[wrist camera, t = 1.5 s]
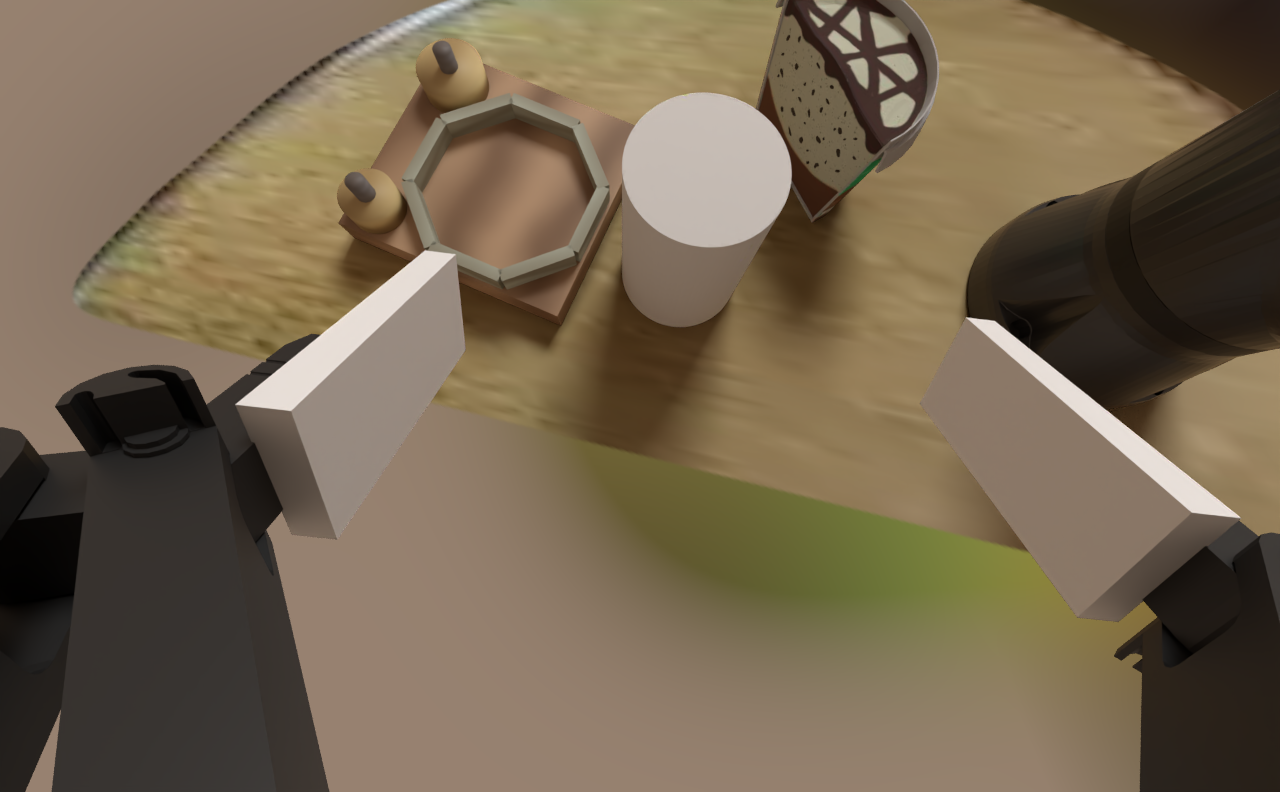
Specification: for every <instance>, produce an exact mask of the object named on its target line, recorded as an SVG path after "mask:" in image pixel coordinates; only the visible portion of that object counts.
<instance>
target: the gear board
mask: <svg viewBox="0 0 1280 792" xmlns="http://www.w3.org/2000/svg"><path fill="white" fill-rule="evenodd" d="M416 73H417V77H418V79H419V81H420V83H421V84H420V86H419V87H418V89H417V91H416V92H415V94H414V96H413V97H412V99H411V101H410V103H409V104H408V106H407V108H406V109H405V111H404V113H403V114H402V116H401V118H400V119H399V121H398V123H397V125H396V126H395V128H394V130H393V131H392V133H391V135H390V136H389V138H388V140H387V141H386V143H385V145H384V147H383V148H382V150H381V152H380V153H379V155H378V157H377V158H376V160H375V162H374V164H373V165H372V167H371V168H365V169H360V170H357V171H354V172H351V173H349V174H348V175H347V176H346V177H345V178H344V180H343V181H342V182H341V184H340V186H339V188H338V192H337V200H338V204H339V206H340V208H341V209H342V211H343V212H344V214H343V216H342V218H341V219H340V221H339V224H340V225H341V226H342V227H343V228H344V229H345V230H347V231H348V232H349V233H350V234H351V235H352V236H353V237H354V238H356V239H359V240H361V241H363V242H366V243H368V244H371V245H373V246H375V247H378V248H380V249H382V250H385V251H387V252H389V253H392V254H394V255H396V256H399V257H401V258H403V259H406V260H408V261H410V262H412V261H413V260H414V259H415V258H416V257H418V256H419V255H420V254H421V253H423V252H424V251H434V252H442V253H450V254H456V260H457V270H458V280H459V282H460V283H462V284H464V285H467V286H469V287H471V288H474V289H476V290H478V291H481V292H483V293H486V294H488V295H490V296H493V297H495V298H497V299H500V300H502V301H504V302H507V303H509V304H511V305H514V306H516V307H518V308H521V309H523V310H525V311H528V312H530V313H532V314H535V315H537V316H539V317H542V318H544V319H547V320H549V321H551V322H554V323H556V324H558V325H562V323H563V321H564V319H565V316H566V314H567V312H568V310H569V308H570V306H571V304H572V302H573V300H574V298H575V296H576V294H577V291H578V289H579V287H580V285H581V283H582V281H583V279H584V277H585V275H586V273H587V271H588V268H589V266H590V264H591V262H592V260H593V258H594V256H595V254H596V252H597V250H598V248H599V245H600V243H601V241H602V239H603V237H604V235H605V233H606V231H607V229H608V227H609V225H610V223H611V220H612V218H613V216H614V214H615V212H616V210H617V208H618V206H619V204H620V202H621V200H622V158H623V152H624V148H625V145H626V142H627V139H628V137H629V135H630V133H631V131H632V130H633V128H634V127H635V125H632V124H630V123H627V122H625V121H622V120H620V119H618V118H615V117H613V116H610V115H608V114H605V113H603V112H600V111H598V110H596V109H593V108H591V107H588V106H586V105H583V104H581V103H578V102H576V101H573V100H571V99H569V98H566V97H564V96H561V95H559V94H556V93H554V92H551V91H549V90H547V89H544V88H542V87H539V86H537V85H534V84H532V83H529V82H527V81H525V80H522V79H520V78H517V77H515V76H512V75H510V74H507V73H505V72H502V71H500V70H498V69H495V68H493V67H490V66H488V65H485V64H483V63H482V60H481V57H480V55H479V53H478V52H477V50H476V49H475V48H474V47H473V46H472V45H470V44H469V43H467V42H465V41H462V40H459V39H453V38H447V39H441V40H438V41H435V42H433V43H431V44H429V45H428V46H427V47H425V48H424V49H423V51H422V52H421V53H420V55H419V57H418V59H417V62H416Z"/></svg>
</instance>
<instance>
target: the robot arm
mask: <svg viewBox="0 0 1280 792" xmlns="http://www.w3.org/2000/svg"><path fill="white" fill-rule="evenodd" d="M968 306H969V313H970V318H967V317H966V318H965V320H964V322H963V324H962V326H961V328H960V329H959V331H958V333H957V335H956V337H955V339H954V341H953V342H952V344H951V346H950V348H949V350H948V352H947V354H946V356H945V357H944V359H943V361H942V363H941V365H940V367H939V369H938V370H937V372H936V374H935V376H934V378H933V380H932V382H931V383H930V385H929V387H928V389H927V391H926V393H925V395H924V397H923V398H922V400H921V402H920V405H921V406H922V407H923V409H924V410H925V411H926V413H927V414H928V415H929V417H930V418H931V420H932V421H933V422H934V424H935V425H936V426H937V428H938V429H939V430H940V432H941V433H942V435H943V436H944V437H945V439H946V440H947V441H948V443H949V444H950V445H951V447H952V448H953V449H954V451H955V452H956V454H957V455H958V456H959V458H960V459H961V460H962V462H963V463H964V464H965V466H966V467H967V468H968V470H969V471H970V473H971V474H972V475H973V477H974V478H975V479H976V481H977V482H978V483H979V485H980V486H981V487H982V489H983V490H984V492H985V493H986V494H987V496H988V497H989V498H990V500H991V501H992V502H993V504H994V505H995V506H996V508H997V509H998V511H999V512H1000V513H1001V515H1002V516H1003V517H1004V519H1005V520H1006V521H1007V523H1008V524H1009V525H1010V527H1011V528H1012V530H1013V531H1014V532H1015V534H1016V535H1017V536H1018V538H1019V539H1020V540H1021V542H1022V543H1023V544H1024V546H1025V547H1026V549H1027V550H1028V551H1029V553H1030V554H1031V555H1032V557H1033V558H1034V559H1035V561H1036V562H1037V563H1038V565H1039V566H1040V567H1041V569H1042V570H1043V572H1044V573H1045V574H1046V576H1047V577H1048V578H1049V580H1050V581H1051V582H1052V584H1053V585H1054V587H1055V588H1056V589H1057V591H1058V592H1059V593H1060V595H1061V596H1062V597H1063V599H1064V600H1065V601H1066V603H1067V604H1068V606H1069V607H1070V608H1071V610H1072V611H1073V612H1074V614H1075V615H1076V616H1077V617H1078V618H1087V619H1097V620H1106V621H1115V622H1119V621H1120V620H1121V619H1122V618H1123V617H1125V616H1126V615H1127V614H1128V613H1130V611H1132V610H1133V609H1134V608H1135V607H1137V606H1138V605H1139V604H1140V603H1141V602H1143V601H1144V602H1145V603H1146V604H1147V605H1148V606H1149V608H1150V609H1151V610H1152V611H1153V612H1154V613H1155V614H1156V616H1157V618H1156V619H1155V620H1154V621H1152V622H1151V623H1150V624H1148V625H1147V626H1146V627H1145V628H1143V629H1142V630H1141V631H1140V632H1139V633H1137V634H1136V635H1135V636H1133V637H1132V638H1131V639H1130V640H1128V641H1127V642H1126V643H1125V644H1123V645H1122V646H1121V647H1120V648H1118V649H1117V651H1116V653H1115V655H1114V657H1116V658H1118V659H1120V660H1123V659H1124V658H1125V657H1127V656H1128V655H1129V654H1133V653H1137V654H1140V655H1142V659H1141V660H1140V661H1139V662H1137V663H1136V664H1135V665H1133V668H1135V669H1137V670H1138V671H1140V672H1141V673H1142V706H1141V762H1140V792H1280V534H1276V533H1267V534H1262V535H1260V536H1257V535H1256V534H1255V533H1254V532H1252V531H1251V530H1250V529H1249V528H1247V527H1246V526H1245V525H1244V524H1242V523H1241V522H1240V521H1239V520H1240V519H1241V518H1240V517H1239V516H1238V515H1237V514H1235V513H1234V512H1233V511H1232V510H1230V509H1229V508H1228V507H1227V506H1225V505H1224V504H1223V503H1222V502H1220V501H1219V500H1218V499H1217V498H1215V497H1214V496H1213V495H1212V494H1210V493H1209V492H1208V491H1207V490H1205V489H1204V488H1203V487H1202V486H1200V485H1199V484H1198V483H1197V482H1195V481H1194V480H1193V479H1192V478H1190V477H1189V476H1188V475H1187V474H1185V473H1184V472H1183V471H1182V470H1180V469H1179V468H1178V467H1177V466H1175V465H1174V464H1173V463H1172V462H1170V461H1169V460H1168V459H1167V458H1165V457H1164V456H1163V455H1162V454H1160V453H1159V452H1158V451H1157V450H1155V449H1154V448H1153V447H1152V446H1150V445H1149V444H1148V443H1147V442H1145V441H1144V440H1143V439H1142V438H1140V437H1139V436H1138V435H1137V434H1135V433H1134V432H1133V431H1132V430H1130V429H1129V428H1128V427H1127V426H1125V425H1124V424H1123V423H1122V422H1120V421H1119V420H1118V419H1117V418H1115V417H1114V416H1113V415H1112V414H1110V413H1109V412H1108V411H1107V410H1106V409H1112V408H1119V407H1126V406H1132V405H1136V404H1140V403H1143V402H1146V401H1149V400H1152V399H1155V398H1157V397H1159V396H1161V395H1163V394H1165V393H1167V392H1169V391H1171V390H1172V389H1174V388H1175V387H1177V386H1178V385H1179V384H1181V383H1182V382H1183V381H1185V380H1187V379H1190V378H1192V377H1194V376H1196V375H1198V374H1201V373H1203V372H1206V371H1208V370H1210V369H1213V368H1215V367H1217V366H1219V365H1221V364H1224V363H1226V362H1228V361H1230V360H1232V359H1234V358H1236V357H1239V356H1244V355H1248V354H1253V353H1258V352H1263V351H1268V350H1273V349H1279V348H1280V90H1279V91H1277V92H1276V93H1274V94H1272V95H1270V96H1269V97H1267V98H1265V99H1264V100H1262V101H1260V102H1259V103H1257V104H1255V105H1253V106H1252V107H1250V108H1248V109H1247V110H1245V111H1243V112H1241V113H1240V114H1238V115H1236V116H1235V117H1233V118H1231V119H1229V120H1228V121H1226V122H1224V123H1223V124H1221V125H1219V126H1218V127H1216V128H1214V129H1212V130H1211V131H1209V132H1207V133H1206V134H1204V135H1202V136H1200V137H1199V138H1197V139H1195V140H1194V141H1192V142H1190V143H1188V144H1187V145H1185V146H1183V147H1182V148H1180V149H1178V150H1177V151H1175V152H1173V153H1171V154H1170V155H1168V156H1166V157H1165V158H1163V159H1162V160H1160V161H1158V162H1156V163H1155V164H1153V165H1151V166H1150V167H1148V168H1146V169H1145V170H1143V171H1141V172H1140V173H1138V174H1136V175H1135V176H1133V177H1130V178H1127V179H1123V180H1120V181H1116V182H1113V183H1110V184H1107V185H1104V186H1101V187H1098V188H1095V189H1092V190H1090V191H1088V192H1085V193H1084V194H1081V195H1071V196H1065V197H1060V198H1057V199H1053V200H1050V201H1047V202H1044V203H1042V204H1039V205H1037V206H1035V207H1033V208H1031V209H1029V210H1027V211H1026V212H1024V213H1022V214H1021V215H1019V216H1018V217H1016V218H1015V219H1013V220H1012V221H1010V222H1009V223H1007V224H1006V225H1004V226H1003V227H1002V228H1000V229H999V230H998V231H996V232H995V233H994V234H993V235H992V236H991V237H990V238H989V239H988V240H987V241H986V243H985V244H984V245H983V247H982V248H981V250H980V251H979V253H978V255H977V257H976V259H975V261H974V264H973V267H972V270H971V273H970V278H969V284H968ZM465 350H466V349H465V339H464V329H463V319H462V309H461V299H460V290H459V280H458V270H457V260H456V254H450V253H442V252H434V251H424V252H423V253H421V254H420V255H419V256H418V257H416V258H415V259H414V260H413V261H412V262H410V263H409V264H408V265H407V266H405V267H404V268H403V269H402V270H400V271H399V272H398V273H397V274H396V275H394V276H393V277H392V278H391V279H389V280H388V281H387V282H386V283H384V284H383V285H382V286H381V287H380V288H378V289H377V290H376V291H375V292H373V293H372V294H371V295H370V296H368V297H367V298H366V299H365V300H363V301H362V302H361V303H360V304H359V305H357V306H356V307H355V308H354V309H352V310H351V311H350V312H349V313H347V314H346V315H345V316H344V317H343V318H341V319H340V320H339V321H338V322H336V323H335V324H334V325H333V326H331V327H330V328H329V329H328V330H326V331H325V332H324V333H323V334H322V335H317V334H310V335H308V336H305V337H303V338H301V339H298V340H296V341H293V342H291V343H289V344H286V345H284V346H283V347H282V348H280V349H279V350H278V351H277V352H275V353H274V354H273V355H271V356H270V357H269V358H267V359H266V362H262V363H261V364H259V365H258V366H257V367H256V368H254V369H253V370H252V371H251V374H250V375H248V374H247V375H245V376H244V377H242V378H241V379H240V380H238V381H237V382H236V383H234V384H233V385H232V386H231V387H229V388H228V389H227V390H225V391H224V392H223V393H222V394H220V395H219V396H217V397H216V398H215V399H214V400H212V401H211V402H210V403H208V404H207V405H206V403H205V401H204V399H203V397H202V395H201V392H200V390H199V388H198V386H197V384H196V382H195V380H194V378H193V377H192V375H191V374H190V373H189V371H188V370H185V369H181V368H178V367H176V366H164V365H149V366H141V367H131V368H126V369H122V370H118V371H114V372H110V373H106V374H103V375H100V376H98V377H95V378H93V379H90V380H88V381H85V382H83V383H80V384H79V385H77V386H76V387H74V388H73V389H71V390H70V391H68V392H66V393H65V394H64V395H63V396H62V397H61V398H60V400H59V401H58V403H57V404H56V406H55V407H56V409H57V410H58V411H59V413H60V414H61V416H62V417H63V419H64V420H65V421H66V423H67V424H68V426H69V427H70V429H71V430H72V431H73V433H74V434H75V436H76V437H77V439H78V440H79V441H80V443H81V444H82V446H83V447H84V449H85V450H86V451H78V452H68V453H57V454H46V455H39V454H38V453H37V452H36V450H35V449H34V448H33V446H32V445H31V444H30V443H29V441H28V440H27V439H26V438H25V436H24V435H23V434H22V433H21V432H20V431H17V430H12V429H8V428H3V427H1V428H0V792H25V791H26V788H27V786H28V784H29V782H30V779H31V777H32V774H33V772H34V770H35V768H36V765H37V763H38V761H39V758H40V756H41V754H42V751H43V749H44V747H45V745H46V742H47V740H48V738H49V735H50V733H51V731H52V728H53V726H54V724H55V722H56V719H57V717H58V715H59V712H60V710H61V715H60V723H59V732H58V741H57V750H56V758H55V767H54V776H53V786H52V792H329V789H328V784H327V780H326V775H325V771H324V767H323V762H322V758H321V754H320V749H319V745H318V740H317V736H316V732H315V727H314V723H313V719H312V714H311V710H310V706H309V702H308V697H307V693H306V688H305V684H304V679H303V675H302V671H301V666H300V662H299V658H298V654H297V649H296V645H295V640H294V637H293V632H292V627H291V623H290V619H289V614H288V610H287V606H286V601H285V597H284V592H283V588H282V584H281V579H280V575H279V571H278V567H277V562H276V558H275V553H274V549H273V545H272V542H271V539H270V537H269V535H268V533H267V531H266V529H267V528H268V527H269V526H270V525H271V523H272V522H273V521H274V520H275V519H276V517H277V516H278V515H279V514H280V513H281V511H282V513H283V515H284V518H285V520H286V522H287V525H288V527H289V529H290V532H291V534H292V535H299V536H308V537H317V538H328V539H336V540H337V539H338V538H339V536H340V535H341V533H342V532H343V530H344V529H345V527H346V526H347V524H348V523H349V522H350V520H351V518H352V517H353V516H354V514H355V513H356V511H357V510H358V508H359V507H360V505H361V504H362V502H363V501H364V499H365V498H366V496H367V495H368V493H369V492H370V490H371V489H372V488H373V486H374V485H375V483H376V482H377V480H378V478H379V477H380V475H381V474H382V473H383V471H384V470H385V468H386V467H387V465H388V464H389V462H390V461H391V459H392V458H393V456H394V455H395V454H396V452H397V451H398V449H399V448H400V446H401V445H402V443H403V442H404V440H405V439H406V437H407V436H408V434H409V433H410V431H411V430H412V428H413V427H414V425H415V424H416V423H417V421H418V420H419V418H420V416H421V415H422V414H423V412H424V411H425V409H426V408H427V406H428V405H429V403H430V402H431V400H432V399H433V397H434V396H435V394H436V393H437V392H438V390H439V389H440V387H441V386H442V384H443V383H444V381H445V380H446V378H447V377H448V375H449V374H450V372H451V371H452V369H453V368H454V366H455V365H456V363H457V362H458V360H459V359H460V358H461V356H462V355H463V353H464V352H465Z"/></svg>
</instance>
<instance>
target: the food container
mask: <svg viewBox="0 0 1280 792" xmlns="http://www.w3.org/2000/svg"><path fill="white" fill-rule="evenodd" d="M782 6H783V7H782ZM778 7H782V11H781V15H780V19H779V22H778V26H777V30H776V34H775V38H774V41H773V45H772V49H771V53H770V57H769V60H768V64H767V68H766V72H765V76H764V79H763V83H762V87H761V91H760V95H759V98H758V102H757V106H756V110H758V111H759V112H760V113H762V114H763V115H764V116H765V117H766V118H767V119H768V120H769V121H770V122H771V123H772V124H773V125H774V126H775V128H776V129H777V130H778V132H779V133H780V135H781V137H782V138H783V140H784V142H785V145H786V147H787V150H788V153H789V156H790V161H791V169H792V178H791V187H792V189H793V191H794V192H795V194H796V196H797V198H798V199H799V201H800V203H801V205H802V206H803V208H804V210H805V212H806V213H807V215H808V217H809V218H810V220H811V222H814V221H816V220H818V219H820V218H821V217H823V216H825V215H826V214H827V213H828V212H829V211H830V210H831V209H832V208H833V207H834V206H835V205H836V204H837V203H838V202H839V201H840V200H841V199H842V198H843V197H844V196H845V195H847V194H848V193H849V192H850V191H851V190H852V189H853V188H854V187H855V186H856V185H857V184H858V183H859V182H860V181H861V180H862V179H863V178H864V177H865V176H866V175H867V174H868V173H869V172H870V171H871V170H872V169H873V168H874V167H875V166H876V165H877V164H879V165H878V167H877V169H876V171H875V172H876V173H878V172H880V171H882V170H884V169H885V168H887V167H889V166H891V165H892V164H893V163H894V162H896V161H897V160H898V159H899V158H901V157H902V156H903V155H904V154H905V152H906V151H907V150H908V149H909V148H910V147H911V146H912V144H913V142H914V141H915V139H916V138H917V136H918V134H919V132H920V131H921V129H922V127H923V125H924V123H925V121H926V119H927V117H928V115H929V113H930V110H931V108H932V105H933V103H934V99H935V93H936V91H937V85H938V79H939V61H938V56H937V50H936V47H935V44H934V41H933V39H932V36H931V34H930V32H929V30H928V29H927V27H926V25H925V23H924V22H923V21H922V19H921V18H920V17H919V15H918V14H917V13H916V11H915V10H914V9H913V8H912V7H911V6H910V5H909V4H907V3H906V2H905V1H904V0H778V2H777V4H776V8H778Z"/></svg>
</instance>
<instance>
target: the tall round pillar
mask: <svg viewBox="0 0 1280 792" xmlns="http://www.w3.org/2000/svg"><path fill="white" fill-rule="evenodd" d="M791 178H792V169H791V161H790V156H789V153H788V150H787V147H786V145H785V142H784V140H783V138H782V137H781V135H780V133H779V132H778V130H777V129H776V128H775V126H774V125H773V124H772V123H771V122H770V121H769V120H768V119H767V118H766V117H765V116H764V115H763V114H762V113H760V112H759V111H758V110H756V109H755V108H753V107H752V106H750V105H748V104H747V103H745V102H743V101H740V100H738V99H735V98H733V97H729V96H726V95H721V94H715V93H691V94H685V95H680V96H677V97H674V98H671V99H668V100H666V101H664V102H662V103H660V104H658V105H657V106H655V107H654V108H652V109H651V110H650V111H648V112H647V113H646V114H645V115H644V116H643V117H642V118H641V119H640V120H639V121H638V123H637V124H636V125H635V127H634V128H633V130H632V131H631V133H630V135H629V137H628V139H627V142H626V145H625V148H624V152H623V158H622V279H623V284H624V288H625V291H626V293H627V295H628V297H629V299H630V300H631V302H632V303H633V305H634V306H635V307H636V308H637V309H638V310H639V311H640V312H641V313H642V314H643V315H645V316H646V317H648V318H649V319H651V320H653V321H655V322H657V323H660V324H663V325H666V326H672V327H689V326H694V325H698V324H701V323H703V322H705V321H707V320H709V319H711V318H712V317H714V316H715V315H716V314H717V313H719V312H720V311H721V310H722V309H723V307H724V306H725V305H726V303H727V302H728V300H729V298H730V297H731V295H732V293H733V292H734V290H735V288H736V287H737V285H738V283H739V281H740V280H741V278H742V276H743V275H744V273H745V271H746V270H747V268H748V266H749V264H750V263H751V261H752V259H753V258H754V256H755V254H756V253H757V251H758V249H759V247H760V246H761V244H762V242H763V241H764V239H765V237H766V235H767V234H768V232H769V230H770V229H771V227H772V225H773V224H774V222H775V220H776V218H777V217H778V215H779V213H780V212H781V210H782V208H783V206H784V204H785V202H786V200H787V197H788V194H789V191H790V186H791Z"/></svg>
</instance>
